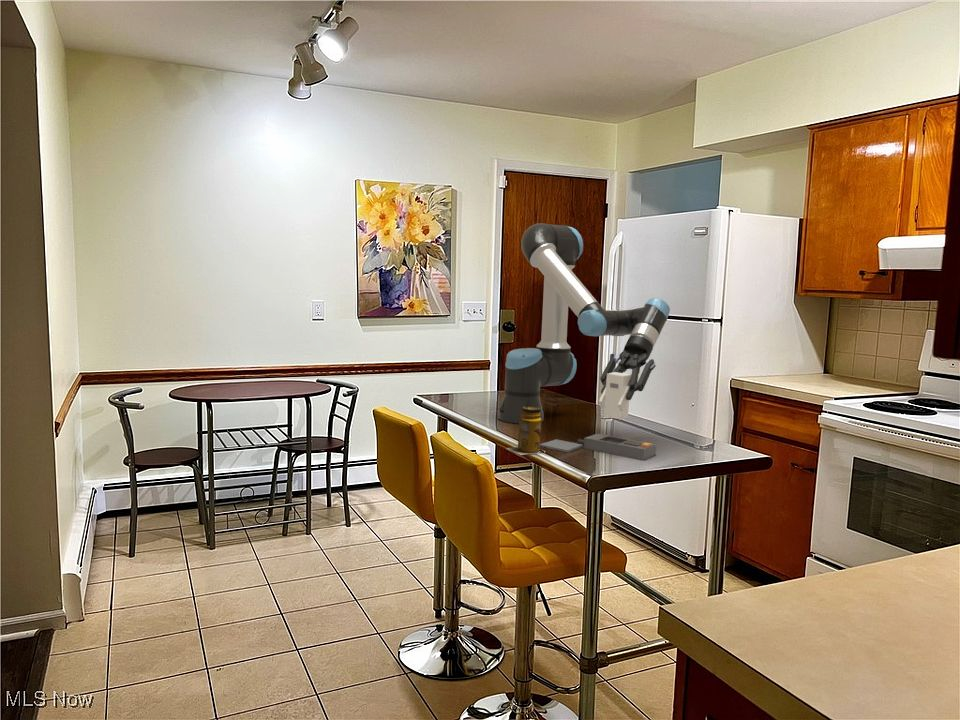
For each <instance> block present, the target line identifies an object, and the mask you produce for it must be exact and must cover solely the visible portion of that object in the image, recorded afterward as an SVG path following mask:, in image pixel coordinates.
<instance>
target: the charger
mask: <svg viewBox="0 0 960 720" xmlns="http://www.w3.org/2000/svg"><path fill="white" fill-rule="evenodd" d="M631 374H632V373H631ZM631 374H630V373H626V372H623V373H618V372H613V373H608V374H607V380H606V392H605V404H604V407H603V417H606V418H612V419H616V420H623V419H625V418H628V416H629V407H630V406H629V405H630V400H628V401H627V403H626V405H625V407H624V409H623V411H621V410H620V409H619V406H618V403H619V401H620V399H621V397H622V395H623V392H624V390H625V388H626V386H629V388H630V385H629V384H630V381H631Z"/></svg>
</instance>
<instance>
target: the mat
mask: <svg viewBox="0 0 960 720" xmlns="http://www.w3.org/2000/svg"><path fill="white" fill-rule="evenodd" d="M540 446H542V447H541V448H544V447H546V449H550V450H554V451H559V452H563V453H570V452H572V451H574V450H575V451H576V450H578V449H580V448H584V444H580V443H578V442H572V441H566V440H561V439H557V438H556V439H553V440H550V441H546V442H542V443H540Z"/></svg>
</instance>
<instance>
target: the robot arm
mask: <svg viewBox="0 0 960 720" xmlns="http://www.w3.org/2000/svg"><path fill="white" fill-rule="evenodd" d="M583 241H584V240H583V238H582V236H581V234H580V232H579V231H578V230H577V229H576V228H574V227H572V226H567V225H563V224H560V225H559V224H549V223H543V222H542V223H541V222H540V223H534V224H532V225H530V226H529V227H528V228H526V230H525V231H524V233H523V234H522V237H521V241H520V243H521V244H520V245H521V251H522V254H523V256H524V257H525V258H526V261H527V262H528V263H529V265H531V266H532V267H533V268H537V269H538V270H539V271H540V273H541V274H542V275H543V276H544V277H543V279H544V280H543V297H542V300H543V301H542V314H541V315H542V316H541V317H542V318H541V319H542V320H541V338H540V339H541V340H540V341H539V343H537V344H536V347H535V348H533V347H527V348H524V347H523V348H517V349H516V348H515V349H512V350H510V351H509V352H508V353H507V354H506V358H505V360H506V361H505V364H504V366H505V370H504V373H505V375H504V376H505V377H504V395H503V399H502V401H501V404H500V406H499V408H498V409H499V410H498V413H497V419H498V420H499V419H500V421H503V422H504V423H512V424H518V425H519V418H520V417H521V409H522V407H528V406H530V407H538V408H540V418H541V423H542V421H543V422H544V421H545V420H544V414H545V413H544V410H543V406H542V402H541V398H540V397H541V396H540V391H541V387H549V386H551V387H552V386H554V387H555V386H556V387H558V386H561V385H565V384H567V383H569V382H570V381H572V379H573V378H574V377H575V375H576V372H577V366H578V365H577V359H576V358H575V355H574V354H573V353H572V352H571V348H572V347H571V346H570V344H568V342H567V337H568V319H569V308H570V310H571V311H572V312H573V313H574V315H575V316H577V318H578V319H577V325H578V329H579V331H580V332H581V333H582V334H583V335H584V336H586V337H587V336H589V337H603V336H612V337H624V336H628V335H629V337H628V339H627V341H626V343H625V345H624V348H623V350H622V352H620V353H619V354H616V355H615V353H611V354H609V360H608V363H607V364H606V366H605V368H604V370H603V372H602V374H601V376H600V382H601V383H602V388H601V390H600V393H601V395H600V398H599V400H598V402H599V405H600V407H601V408H604V404H605V392H606V380H607V374H608V373H613V372H618V373H626V371H628V370H631V381H630V384H629V385H630V388H629V386H626V388H625V390H624V392H623V395H622V397H621V399H620V401H619V403H618V406H619V409H620V410H621V411H623V409H624V407H625V405H626V403H627V401H628V400H629V401H631V400H632V399H633V396H634V395H635V393H636V392H642V391H643V390H644V389H645V387H646V384H647V383H648V380H649V377H650V375H651V373H652V371H653V370H654V369H655V368H656V366H657V365H656V363H655V361H654V359H653V358H651V359H649V358H650V356H651V354H652V352H653V350H654V347H655V345H656V344H657V340H658V339H659V338H660V334H661V332H662V331H663V328H664V327H665V324H666V322H667V321H668V317H669V314H670V312H671V308H670V306H669V304H668V302H666V301H665V300H663V299H662V298H659V297H652V298H649V299H648V300H647V301H646V302H645V304H644V306H642V307H637V308H633V309H632V308H631V309H624V310H612V309H611V310H605V308H604V307H603V306H602V305H601V304H600V303H599V301H598V300H596V298H595V297H594V296H593V295H592V293H591V292H590V290H588V288H587V287H586V286H585V285H584V284H583V283H582V281H581V280H580V279H579V278H578V277H577V276H576V274H575V273H574V272H573V269H574V268H575V267H576V261H577V260H578V259H579V258H580V256H581V255H582V254H583V252H584V242H583ZM643 366H644V367H643ZM642 367H643V370H642V372H641V368H642ZM640 372H641V374H640ZM639 374H640V375H639Z"/></svg>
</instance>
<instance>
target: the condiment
mask: <svg viewBox="0 0 960 720" xmlns="http://www.w3.org/2000/svg"><path fill="white" fill-rule="evenodd" d="M541 431H542V422H541V418H540V408H538V407H530V406H528V407H522V409H521V417H520V418H519V424H518V435H517V436H518V438H517V439H518V440H517V446H515V447H506V448H505V449H506V450H508V451H509V452H512V453H514V454H517V455H520V456H524V455H525V456H526V455H532V454H533V455H534V454H539V453H538V452H539V450H541V449H540V448H541V447H540V444H541V433H542V432H541ZM543 451H544V453H546V451H545V450H543Z"/></svg>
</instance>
